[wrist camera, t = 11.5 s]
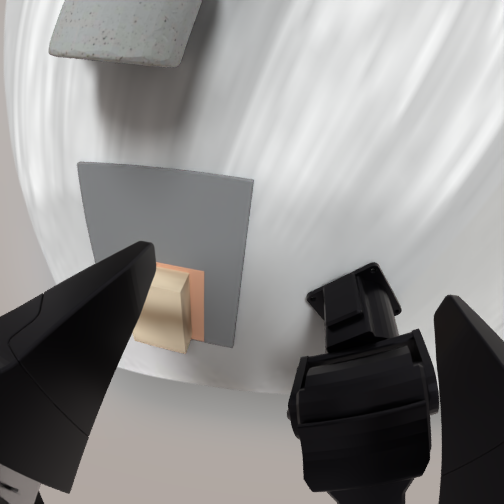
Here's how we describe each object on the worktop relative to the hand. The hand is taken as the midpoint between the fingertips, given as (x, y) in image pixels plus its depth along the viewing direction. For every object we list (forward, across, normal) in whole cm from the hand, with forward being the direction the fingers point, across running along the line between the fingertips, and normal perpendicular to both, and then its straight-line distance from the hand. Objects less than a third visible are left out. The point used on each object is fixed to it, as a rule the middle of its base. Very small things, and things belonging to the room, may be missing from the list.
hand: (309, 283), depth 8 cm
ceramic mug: (+12, +11, -10) cm, 19 cm away
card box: (+12, +10, +15) cm, 21 cm away
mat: (+12, +10, +11) cm, 19 cm away
